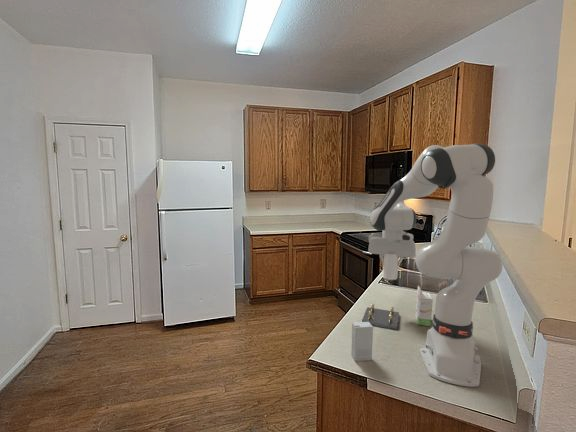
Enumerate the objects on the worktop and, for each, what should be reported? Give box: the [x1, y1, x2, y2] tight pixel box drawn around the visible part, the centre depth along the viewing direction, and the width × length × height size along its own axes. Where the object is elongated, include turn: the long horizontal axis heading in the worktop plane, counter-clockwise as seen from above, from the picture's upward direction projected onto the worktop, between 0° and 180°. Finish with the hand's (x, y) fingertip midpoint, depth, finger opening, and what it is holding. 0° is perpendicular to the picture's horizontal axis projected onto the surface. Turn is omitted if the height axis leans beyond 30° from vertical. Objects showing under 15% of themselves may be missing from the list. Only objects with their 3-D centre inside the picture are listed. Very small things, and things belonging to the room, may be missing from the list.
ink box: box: [415, 285, 434, 327], centre depth 138 cm, size 9×5×15 cm, turn 168°
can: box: [381, 253, 400, 281], centre depth 145 cm, size 6×6×12 cm
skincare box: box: [351, 321, 374, 362], centre depth 109 cm, size 6×4×12 cm
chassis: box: [361, 303, 400, 331], centre depth 140 cm, size 15×14×4 cm
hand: (390, 265), depth 145 cm, fingers closed on can, 5 cm apart
